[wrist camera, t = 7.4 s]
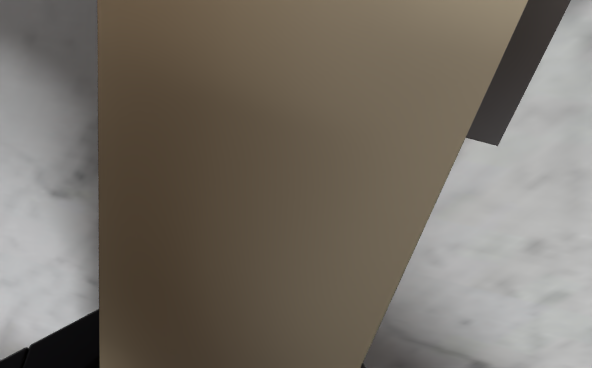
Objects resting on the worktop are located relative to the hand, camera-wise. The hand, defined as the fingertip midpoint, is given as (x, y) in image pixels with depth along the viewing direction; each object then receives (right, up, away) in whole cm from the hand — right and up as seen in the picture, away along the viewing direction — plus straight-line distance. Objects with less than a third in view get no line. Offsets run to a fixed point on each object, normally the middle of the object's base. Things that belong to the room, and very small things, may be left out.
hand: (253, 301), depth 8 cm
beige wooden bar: (0, +1, +1) cm, 2 cm away
